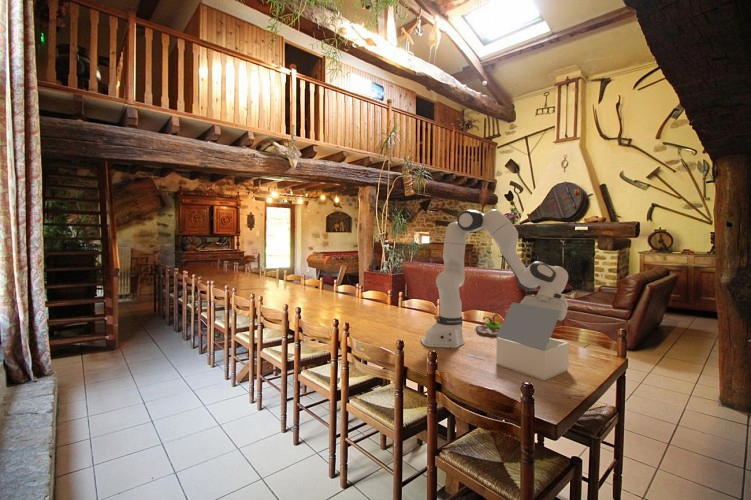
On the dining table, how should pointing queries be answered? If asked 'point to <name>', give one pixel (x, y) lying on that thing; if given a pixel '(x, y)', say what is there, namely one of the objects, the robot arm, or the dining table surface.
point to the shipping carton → (534, 358)
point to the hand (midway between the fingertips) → (534, 322)
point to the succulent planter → (489, 328)
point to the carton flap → (529, 325)
